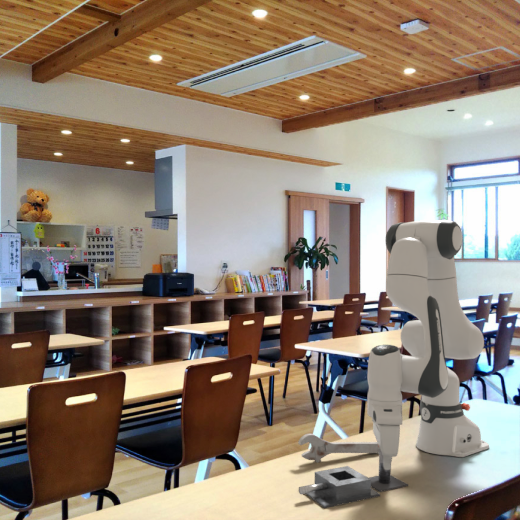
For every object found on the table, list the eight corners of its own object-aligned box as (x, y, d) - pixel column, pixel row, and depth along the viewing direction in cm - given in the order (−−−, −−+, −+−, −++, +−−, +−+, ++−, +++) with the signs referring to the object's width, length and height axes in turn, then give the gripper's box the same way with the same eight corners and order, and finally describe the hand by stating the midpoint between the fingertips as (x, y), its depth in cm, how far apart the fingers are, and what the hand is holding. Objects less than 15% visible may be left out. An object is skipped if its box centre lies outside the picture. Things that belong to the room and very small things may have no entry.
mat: (388, 475, 155) (388, 473, 155) (408, 485, 148) (408, 484, 148) (360, 480, 151) (360, 479, 151) (379, 492, 144) (379, 490, 144)
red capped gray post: (376, 478, 152) (377, 440, 152) (390, 479, 152) (391, 441, 151) (377, 483, 148) (379, 445, 148) (392, 484, 148) (394, 445, 148)
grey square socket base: (351, 479, 152) (351, 463, 152) (379, 496, 142) (380, 479, 142) (288, 491, 144) (288, 475, 144) (313, 510, 133) (313, 492, 133)
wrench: (387, 462, 174) (298, 463, 162) (384, 460, 175) (295, 461, 164) (390, 435, 174) (301, 434, 162) (386, 433, 176) (298, 433, 164)
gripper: (367, 398, 160) (367, 448, 160) (377, 419, 140) (377, 476, 140) (390, 399, 160) (390, 449, 160) (403, 420, 139) (403, 477, 139)
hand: (384, 462), depth 150 cm, fingers open, 8 cm apart
